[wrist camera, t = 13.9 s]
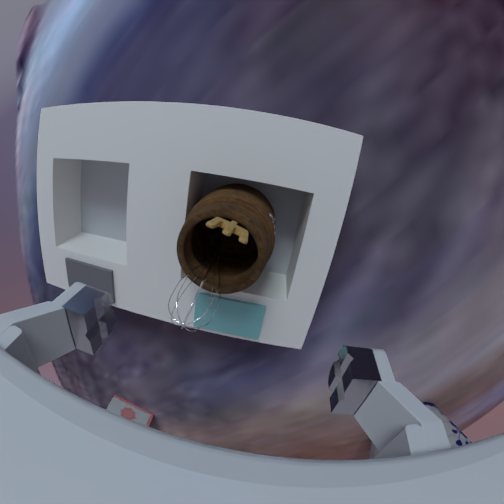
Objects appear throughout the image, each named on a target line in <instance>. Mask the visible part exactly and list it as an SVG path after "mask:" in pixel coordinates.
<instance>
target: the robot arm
mask: <svg viewBox="0 0 504 504" xmlns="http://www.w3.org/2000/svg"><path fill="white" fill-rule="evenodd" d="M112 304H113V299H112V295H111V294H110V293H109V292H106V291H103V290H100V289H98V288H95V287H92V286H89V285H86V284H83V283H81V282H75V283H74V284H73V285H72V286H70V287H69V288H68V289H67V290H66V291H64V292H63V293H62V294H61V295H60V296H58V297H57V298H56V299H55V300H54V301H53V302H50V301H48V302H44V303H40V304H37V305H33V306H30V307H26V308H22V309H18V310H15V311H11V312H7V313H4V314H0V504H504V433H502V434H499V435H496V436H493V437H490V438H487V439H483V440H480V441H477V442H473V443H470V444H466V445H462V446H458V447H454V448H451V447H450V443H449V440H448V437H447V434H446V431H445V428H444V425H443V422H442V420H440V419H439V418H438V417H437V416H436V415H435V414H434V413H433V412H432V411H431V410H429V409H428V408H427V407H426V406H425V405H424V404H423V403H422V402H421V401H419V400H418V399H417V398H416V397H415V396H414V395H413V394H412V393H411V392H410V391H408V390H407V389H406V388H405V387H404V386H403V385H402V384H401V383H400V382H396V381H395V378H394V375H393V372H392V370H391V367H390V364H389V361H388V358H387V356H386V353H385V351H384V350H383V349H374V348H370V349H369V348H361V347H352V346H344V345H343V346H342V348H341V349H340V351H339V353H338V357H339V360H338V361H336V362H334V363H333V365H332V367H331V370H330V374H329V380H328V385H329V389H330V390H331V391H332V392H333V394H332V395H331V397H330V405H331V413H335V414H347V415H354V417H355V419H356V420H357V421H358V423H359V424H360V426H361V427H362V428H363V430H364V431H365V433H366V434H367V435H368V437H369V438H370V440H371V441H372V442H373V444H374V445H375V446H376V448H377V449H378V451H379V453H378V454H377V455H376V456H375V457H374V458H372V459H363V460H318V459H300V458H288V457H278V456H270V455H262V454H256V453H249V452H243V451H238V450H232V449H227V448H223V447H218V446H213V445H209V444H205V443H201V442H197V441H193V440H189V439H186V438H182V437H179V436H175V435H172V434H169V433H166V432H163V431H160V430H157V429H154V428H151V427H148V426H145V425H142V424H140V423H137V422H134V421H132V420H129V419H127V418H124V417H122V416H119V415H117V414H115V413H112V412H110V411H108V410H105V409H103V408H101V407H99V406H97V405H95V404H93V403H90V402H88V401H86V400H84V399H82V398H80V397H78V396H77V395H75V394H73V393H71V392H69V391H67V390H65V389H64V388H62V387H60V386H58V385H56V384H55V383H53V382H51V381H50V380H48V379H46V378H45V377H43V376H41V374H40V372H39V370H38V367H40V366H42V365H44V364H46V363H48V362H50V361H52V360H54V359H56V358H58V357H60V356H62V355H64V354H66V353H68V352H70V351H72V350H74V349H75V348H77V349H79V350H82V351H84V352H87V353H89V354H92V355H94V354H95V353H96V352H97V350H98V349H99V348H100V346H101V345H102V339H103V338H106V337H108V336H109V335H110V334H111V332H112V330H113V328H114V325H115V313H114V311H113V310H112V308H111V305H112Z"/></svg>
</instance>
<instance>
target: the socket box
mask: <svg viewBox="0 0 504 504" xmlns="http://www.w3.org/2000/svg"><path fill="white" fill-rule="evenodd" d="M362 140H363V136H362V135H358V134H355V133H352V132H348V131H345V130H341V129H337V128H334V127H330V126H326V125H322V124H318V123H314V122H309V121H305V120H300V119H296V118H291V117H286V116H281V115H276V114H270V113H264V112H258V111H252V110H245V109H238V108H231V107H222V106H213V105H203V104H191V103H175V102H143V101H130V102H99V103H84V104H72V105H63V106H55V107H47V108H41V115H40V124H39V135H38V150H37V205H38V221H39V232H40V241H41V249H42V256H43V263H44V269H45V275H46V280H47V283H50V284H52V285H55V286H57V287H60V288H63V289H65V290H67V289H68V288H69V287H70V286H72V285H73V284H74V283H75V282H81V283H83V284H86V285H89V286H92V287H95V288H98V289H100V290H103V291H106V292H109V293H110V294H111V295H112V299H113V304H112V306H115V307H118V308H121V309H124V310H128V311H131V312H134V313H138V314H141V315H145V316H148V317H152V318H155V319H159V320H163V321H166V322H170V323H172V321H173V323H175V324H179V323H178V322H180V320H181V322H182V323H183V322H184V320H185V317H186V315H187V313H188V311H189V308H190V306H191V304H192V302H193V300H194V298H195V295H196V293H197V291H198V289H199V286H197V285H196V284H194V283H193V282H192V281H191V280H190V279H189V278H188V277H187V276H185V275H186V274H185V273H184V271H183V270H182V268H181V266H180V264H179V261H178V257H177V240H178V236H179V233H180V231H181V228H182V226H183V224H184V223H185V221H186V218H187V216H188V214H189V213H190V211H191V210H192V208H193V207H194V206H195V205H196V204H197V203H198V202H199V201H200V200H201V199H202V198H203V197H205V196H206V195H207V194H208V193H210V192H211V191H213V190H214V189H216V188H218V187H221V186H223V185H227V184H235V183H238V184H245V185H248V186H251V187H253V188H255V189H257V190H259V191H260V192H261V193H262V194H263V195H264V196H265V197H266V198H267V199H268V200H269V202H270V204H271V205H272V208H273V210H274V213H275V218H276V238H275V245H274V249H273V252H272V255H271V257H270V259H269V261H268V262H267V264H266V266H265V268H264V270H263V272H262V274H261V275H260V277H259V278H258V279H257V280H256V281H255V282H254V283H253V284H252V285H251V286H250V287H248V288H246V289H244V290H242V291H240V292H236V293H232V294H221V295H220V294H218V293H217V294H216V293H213V292H209V291H207V290H204V289H201V288H200V289H201V291H200V289H199V291H200V293H199V291H198V293H199V295H198V294H197V295H198V297H197V296H196V298H197V299H196V298H195V300H196V302H195V300H194V302H195V304H194V302H193V304H194V306H193V304H192V306H193V308H192V306H191V308H192V310H191V309H190V310H191V312H190V311H189V312H190V314H189V313H188V314H189V316H188V315H187V316H188V318H187V320H185V321H186V323H185V322H184V323H185V324H187V323H190V322H193V321H195V320H197V319H198V318H199V317H201V316H202V315H203V314H204V313H205V312H206V311H207V309H208V307H209V303H210V299H211V302H212V300H213V298H214V296H215V294H216V296H215V298H214V300H213V302H212V305H211V306H210V308H209V310H208V312H207V314H206V313H205V314H206V317H205V314H204V315H203V316H202V317H201V318H200V319H198V320H197V321H195V322H193V323H191V324H187V325H186V326H189V327H200V325H201V323H202V321H203V319H204V317H205V319H204V321H203V323H202V325H201V326H204V325H206V324H207V323H208V322H209V321H210V320H211V318H212V316H213V314H214V312H215V309H216V307H217V304H218V301H219V296H220V301H219V304H218V307H217V309H216V312H215V314H214V316H213V318H212V320H211V321H210V322H209V323H208V324H207V325H206V326H204V327H201V328H199V329H198V328H194V329H198V330H203V331H207V332H211V333H216V334H220V335H225V336H230V337H234V338H239V339H244V340H249V341H255V342H260V343H266V344H271V345H277V346H283V347H289V348H296V349H301V348H302V345H303V343H304V340H305V337H306V335H307V332H308V329H309V327H310V324H311V321H312V318H313V315H314V313H315V310H316V307H317V304H318V301H319V298H320V295H321V292H322V289H323V286H324V283H325V280H326V277H327V274H328V271H329V267H330V264H331V261H332V258H333V254H334V251H335V248H336V244H337V241H338V237H339V234H340V230H341V227H342V223H343V220H344V216H345V212H346V209H347V205H348V201H349V197H350V193H351V189H352V185H353V181H354V177H355V172H356V168H357V164H358V159H359V155H360V150H361V145H362ZM184 276H185V277H184ZM183 277H184V278H183ZM186 277H187V279H186ZM182 278H183V279H182ZM181 279H182V280H181ZM185 279H186V280H185ZM180 280H181V281H180ZM184 280H185V282H184ZM179 281H180V282H179ZM178 282H179V284H178ZM183 282H184V284H183ZM191 282H192V283H191ZM190 283H191V284H190ZM177 284H178V285H177ZM182 284H183V286H182ZM189 284H190V285H189ZM176 285H177V287H176ZM188 285H189V286H188ZM181 286H182V288H181ZM187 286H188V287H187ZM175 287H176V289H175ZM186 287H187V289H186V290H185V288H186ZM180 288H181V290H180ZM174 289H175V291H174ZM179 290H180V293H179V295H178V292H179ZM184 290H185V291H184ZM173 291H174V292H173ZM183 291H184V292H183ZM172 292H173V294H172ZM182 292H183V294H182ZM211 293H212V298H211ZM171 294H172V296H171ZM181 294H182V296H181ZM177 295H178V299H179V297H180V296H181V297H180V299H179V301H178V303H177V309H178V314H179V317H180V320H179V317H178V314H177V309H176V307H175V305H176V301H177ZM170 296H171V299H170ZM169 299H170V301H169ZM168 301H169V310H170V313H172V311H173V309H174V307H175V309H174V311H173V313H172V316H173V317H174V319H176V320H177V321H178V322H176V321H175V320H174V319H173V318H172V321H171V315H170V313H169V310H168ZM210 304H211V303H210ZM181 322H180V323H181ZM182 323H181V324H182ZM181 324H179V325H181Z"/></svg>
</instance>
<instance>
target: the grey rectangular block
mask: <svg viewBox="0 0 504 504" xmlns="http://www.w3.org/2000/svg"><path fill="white" fill-rule="evenodd" d="M106 410H108V411H110V412H112V413H115V414H117V415H119V416H122V417H124V418H127V419H129V420H132V421H134V422H137V423H140V424H142V425H145V426H148V427H149V426H150V423H151V421H152V418H153V416H154V414H153V413H151V412H149V411H146V410H144V409H142V408H140V407H138V406H136V405H134V404H132V403H130V402H128V401H126V400H125V399H123V398H121V397H119V396H117V395H114V397H113V398H112V400H111V402H110V404H109V405H108V407H107V409H106Z"/></svg>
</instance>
